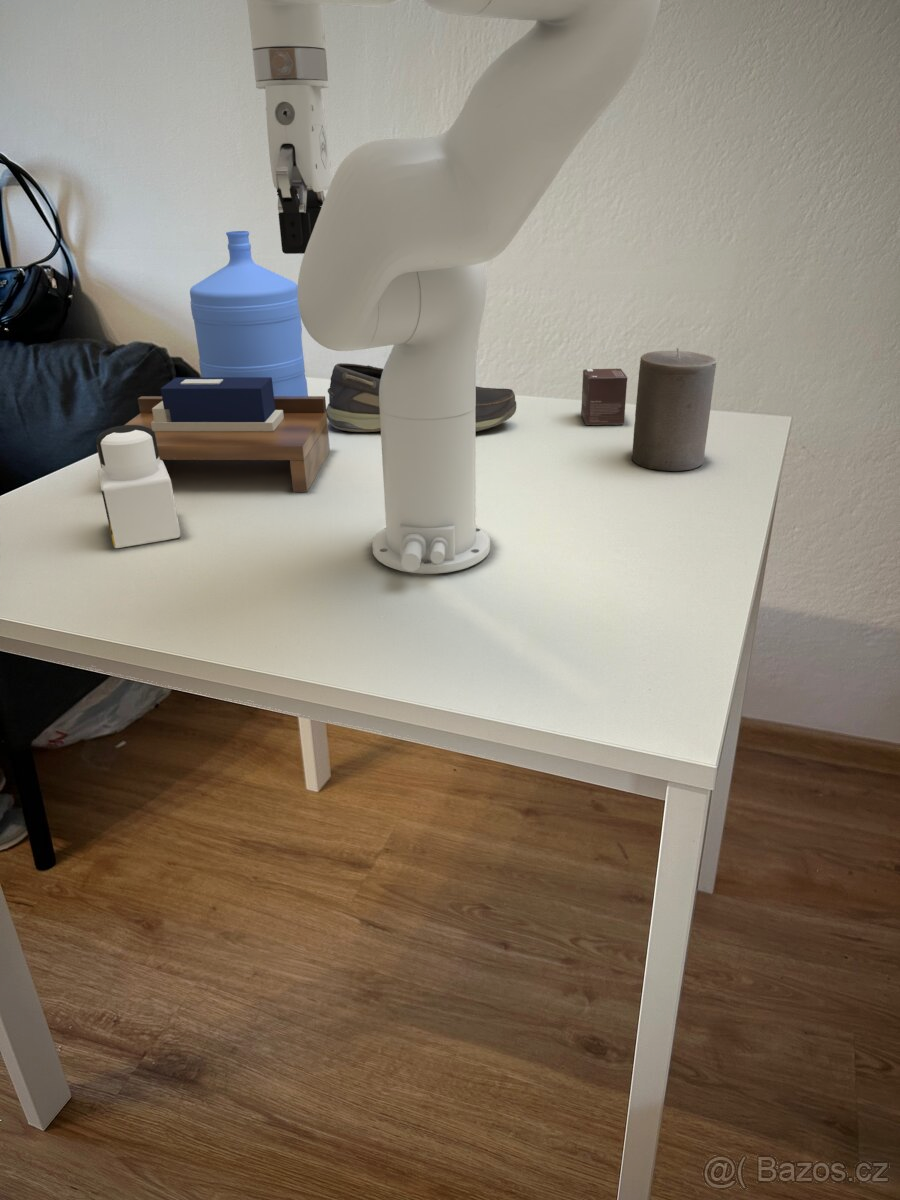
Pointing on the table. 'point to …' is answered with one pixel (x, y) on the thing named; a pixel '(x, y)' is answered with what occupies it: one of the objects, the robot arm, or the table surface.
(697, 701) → the table surface
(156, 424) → the blue block on tray
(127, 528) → the medicine bottle
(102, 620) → the table surface
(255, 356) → the water jug
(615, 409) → the box
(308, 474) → the shelf
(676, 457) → the pillar candle
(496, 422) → the boat shoe
